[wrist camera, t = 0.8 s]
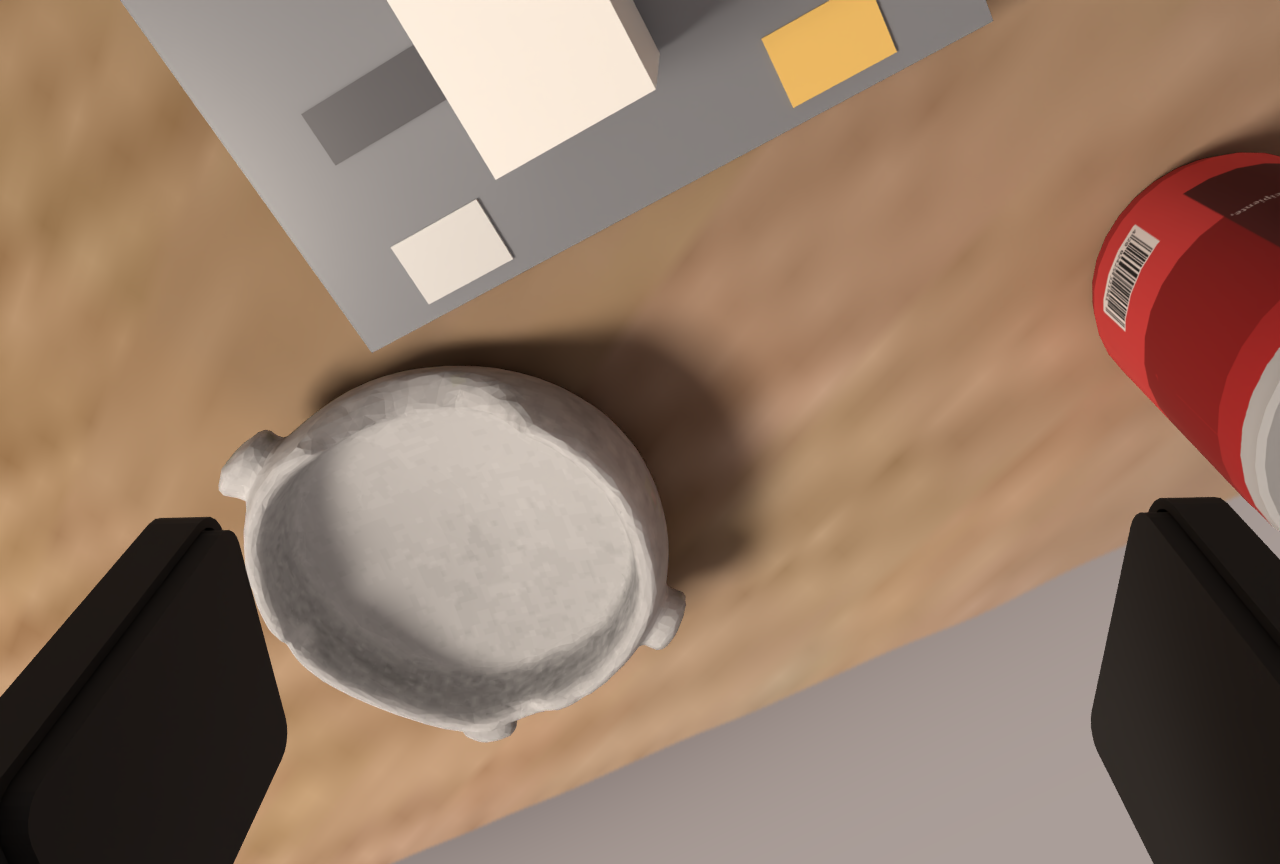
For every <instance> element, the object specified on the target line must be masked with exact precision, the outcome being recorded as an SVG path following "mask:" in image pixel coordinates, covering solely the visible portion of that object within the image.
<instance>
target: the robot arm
mask: <svg viewBox="0 0 1280 864" xmlns="http://www.w3.org/2000/svg"><path fill="white" fill-rule="evenodd" d="M1091 729H1092V735H1093V740H1094V744H1095V746H1096V749H1097V751H1098V754H1099V756H1100V757H1101V759H1102V761H1103V763H1104V765H1105V767H1106V769H1107V771H1108V773H1109V775H1110V777H1111V779H1112V781H1113V783H1114V785H1115V787H1116V789H1117V791H1118V793H1119V795H1120V797H1121V799H1122V801H1123V803H1124V805H1125V807H1126V809H1127V811H1128V813H1129V815H1130V817H1131V819H1132V821H1133V823H1134V825H1135V827H1136V829H1137V831H1138V833H1139V835H1140V837H1141V839H1142V841H1143V843H1144V845H1145V847H1146V849H1147V851H1148V853H1149V855H1150V857H1151V859H1152V861H1153V863H1154V864H1280V559H1279V558H1278V557H1277V556H1276V555H1275V554H1274V553H1273V552H1272V551H1271V550H1270V549H1269V548H1268V546H1267V545H1265V543H1264V542H1263V541H1262V540H1261V539H1260V538H1259V537H1258V536H1257V535H1256V534H1255V532H1254V531H1253V530H1252V529H1251V528H1250V527H1249V526H1248V525H1247V524H1246V523H1245V522H1244V521H1243V520H1242V519H1241V517H1240V516H1239V515H1238V514H1237V513H1236V512H1235V511H1234V510H1233V509H1232V508H1231V507H1230V506H1229V504H1228V503H1226V502H1225V501H1224V500H1222V499H1221V498H1217V497H1194V498H1159V499H1158V500H1156V501H1154V503H1153V504H1152V506H1151V507H1150V509H1149V512H1147V513H1139V514H1137V515H1136V516H1135V517H1134V519H1133V521H1132V524H1131V527H1130V532H1129V537H1128V541H1127V546H1126V551H1125V556H1124V561H1123V565H1122V570H1121V575H1120V580H1119V584H1118V589H1117V594H1116V598H1115V604H1114V608H1113V613H1112V618H1111V623H1110V627H1109V632H1108V636H1107V641H1106V646H1105V651H1104V656H1103V661H1102V665H1101V670H1100V675H1099V679H1098V684H1097V689H1096V694H1095V699H1094V703H1093V708H1092V714H1091ZM286 742H287V723H286V718H285V714H284V710H283V707H282V703H281V699H280V695H279V692H278V688H277V684H276V680H275V676H274V673H273V669H272V665H271V661H270V658H269V654H268V650H267V646H266V643H265V639H264V635H263V631H262V628H261V624H260V620H259V616H258V612H257V609H256V605H255V601H254V597H253V594H252V590H251V586H250V582H249V579H248V575H247V571H246V567H245V564H244V560H243V556H242V552H241V548H240V545H239V542H238V539H237V537H236V535H235V534H234V533H233V532H232V531H230V530H222V528H221V526H220V524H219V523H218V522H217V521H216V520H215V519H213V518H211V517H188V518H159V519H155V520H153V521H152V522H151V523H150V524H149V525H148V526H147V527H146V528H145V529H144V530H143V532H142V533H141V534H140V535H139V536H138V537H137V539H136V540H135V541H134V542H133V543H132V544H131V546H130V547H129V548H128V549H127V550H126V551H125V553H124V554H123V555H122V556H121V557H120V558H119V559H118V561H117V562H116V563H115V564H114V565H113V566H112V568H111V569H110V570H109V571H108V572H107V573H106V575H105V576H104V577H103V578H102V579H101V580H100V582H99V583H98V584H97V585H96V586H95V587H94V589H93V590H92V591H91V592H90V593H89V594H88V596H87V597H86V598H85V599H84V600H83V601H82V603H81V604H80V605H79V606H78V607H77V608H76V610H75V611H74V612H73V613H72V614H71V615H70V617H69V618H68V619H67V620H66V621H65V622H64V624H63V625H62V626H61V627H60V628H59V629H58V631H57V632H56V633H55V634H54V635H53V636H52V638H51V639H50V640H49V641H48V642H47V643H46V645H45V646H44V647H43V648H42V649H41V650H40V652H39V653H38V654H37V655H36V656H35V657H34V659H33V660H32V661H31V662H30V663H29V664H28V666H27V667H26V668H25V669H24V670H23V671H22V673H21V674H20V675H19V676H18V677H17V678H16V680H15V681H14V682H13V683H12V684H11V685H10V687H9V688H8V689H7V690H6V691H5V692H4V694H3V695H2V696H1V697H0V864H233V863H234V861H235V859H236V857H237V854H238V852H239V850H240V848H241V846H242V844H243V841H244V839H245V837H246V835H247V833H248V831H249V829H250V826H251V824H252V822H253V820H254V818H255V816H256V813H257V811H258V809H259V807H260V805H261V803H262V801H263V798H264V796H265V794H266V792H267V790H268V788H269V785H270V783H271V781H272V779H273V777H274V775H275V773H276V770H277V768H278V766H279V764H280V762H281V760H282V757H283V754H284V752H285V747H286Z"/></svg>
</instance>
